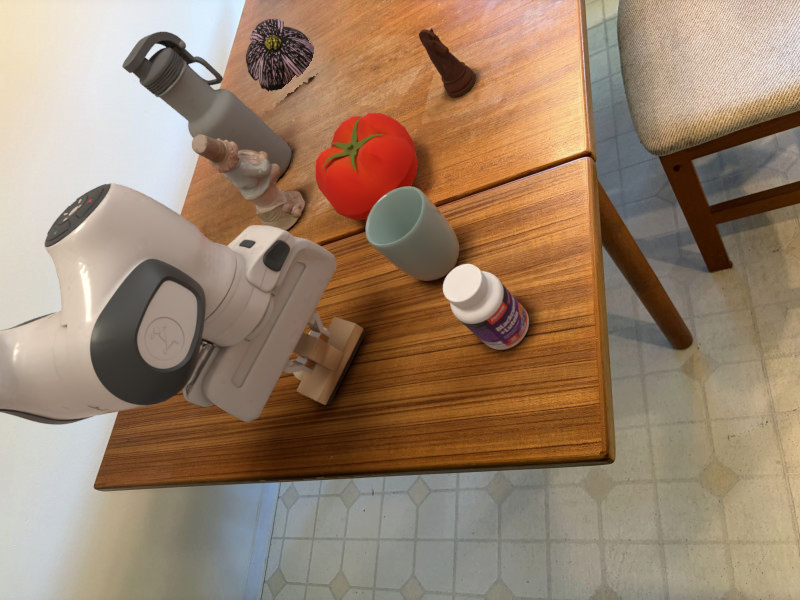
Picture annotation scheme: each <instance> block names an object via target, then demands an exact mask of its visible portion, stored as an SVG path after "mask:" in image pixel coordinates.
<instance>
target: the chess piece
mask: <svg viewBox="0 0 800 600" xmlns="http://www.w3.org/2000/svg"><path fill="white" fill-rule="evenodd" d="M418 38H419V41H420V43H421V44H422V46H423V47H424V49H425V51H426V52H427V55H428V58H429V59H430V61H431V63H432V64H433V66H434V67H435V69H436V71H437V72H438V74H439V75H440V77H441V78H440V79H441V82H442V83H443V88H444V90H445V92H446V94H447V95H448V97H451V98H458V97H461V96H463V95H465V94H466V93H468V92H469V91H470V90H471V89H472V87H473V86H474V85H475V82H476V74H475V72H474V71H473V70H472V68H471V67H470V66H468V65H466V63H465V62H464V61H460V60H459V59H458V58H457V57H456V56H455V55H454V54H453V53H452V52H450V49H449V47H448V46H446V45H445V44H444V43H443V42H442V41H441V39H440V37H439V36H438V35H437V34H436V33H435V32H434V29H433V28H432V27H431V28H430V29H426V28H423V29H421V30H420V32H419V33H418Z"/></svg>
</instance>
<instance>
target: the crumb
mask: <svg viewBox="0 0 800 600" xmlns="http://www.w3.org/2000/svg"><path fill="white" fill-rule="evenodd" d="M294 361H296V359H295V360H294ZM305 373H306V372H304V371H298V372H294V373H292V374H293V376H294V377H295V378H296V379H297V380H298V381H300V382H301V381H302V379H303V377H304V375H305Z"/></svg>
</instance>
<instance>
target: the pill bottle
mask: <svg viewBox="0 0 800 600" xmlns="http://www.w3.org/2000/svg"><path fill="white" fill-rule="evenodd" d="M442 292H443V295H444V297H445V298H446V299H447V300H448V301H449V304H450V305H449V306H450V309H451V312H452V314H453V315H454V316H455V318H456V319H457V320H458V321H459V322H461V324H463V325H464V326H465V327H466V328H467V329H468V330H469V331H471V332H472V333H473V334H474V335H475V336H476V337H477V338H478V339H479V340H480V341H481V342H482V343H484V344H485V345H486V346H487V347H489V348H491V349H493V350H496V351H497V350H498V351H502V350H503V351H504V350H508V349H511V348H513V347H516V346H517V345H518V344H519V343H521V341H522V340H523V339H524V338H525V336H526V334H527V333H528V330H529V325H530V317H529V314H528V312H527V310H526V309H525V307H524V306H523V305H522V304H521V303H520V302H519V301H518V299H517V298H516V297H515V296H514V295H513V294H512V292H510V291H509V289H508V288H507V287H506V285H505V284H504V283H503V282H502V281H501V279H499V278H498V277H497V276H496V274H493V273H492V272H489V271H486V270H481V269H480V268H479V267H478V266H477V265H475V264H471V263H463V264H460V265H458V266H455V267H454V268H453V269H452V270H451V271H450V272H449V273H448V274H447V275H446V277H445V278H444V280H443V283H442Z"/></svg>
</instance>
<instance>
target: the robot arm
mask: <svg viewBox="0 0 800 600" xmlns="http://www.w3.org/2000/svg"><path fill="white" fill-rule="evenodd" d="M46 234H47V235H46V238H45V240H44V248H45V250H46V252H47V253H48V255H49V256H50V257H51V259H52V262H53V264H54V267H55V272H56V276H57V279H58V285H59V291H60V303H61V304H60V305H61V307H60V310H59V311H56V312H51V313H48V314H45V315H41V316H37V317H33V318H31V319H29V320H27V321H24V322H22V323H19V324H17V325H14V326H12V327H9V328H6V329H2V330H0V413H1V414H2V413H3V414H8V415H11V416H15V417H16V418H17V417H18V418H21V419H24V420H27V421H31V422H34V423H39V424H44V425H53V426H54V425H55V426H56V425H57V426H59V425H69V424H74V423H77V422H81V421H84V420H87V419H90V418H93V417H96V416H102V415H107V414H112V413H119V412H124V411H129V410H134V409H137V408H139V409H140V408H144V407H148V406H153V405H157V404H161V403H163V402H166V401H168V400H170V399H172V398H174V397H175V396H176V395H177V394H179V393H180V392H181V391H182V395H183V397H184V399H185V401H187V402H188V403H190V404H193V405H194V406H198V407H200V408H209V407H212V406H216V407H217V408H219V409H221V410H222V411H224V412H226V413H227V414H229V415H231V416H233V417H234V418H237V419H238V420H240V421H243V422H245V423H249V422H252V421H255V420H257V419H259V417H260V416H261V414H262V412H263V410H264V408H265V406H266V404H267V402H268V401H269V399H270V396H271V395H272V393H273V391H274V389H275V387H276V385H277V383H278V382H279V379H280V378H281V375H282V374H283V373H285V374H288V375H289V374H293V373H294V372H298V371H304V372H306V373H309V374H312V372H313V370H314V368H315V366H316V364H317V363H315V362H313V361H311V360H310V359H308V358H305V357H303V356H301V355H299V356H298V355H297V357H296V359H295V360H296V361H295V360H290V359H291V357H292V354H294V353H293V351H294V349H295V347H296V345H297V343H298V341H299V339H300V337H301V335H302V333H305V332H304V331H305V330H306V328H307V326H308V327H309V329H310V331H311V332H310V331H309V332H310V334H309V333H308V334H309V335H311V336H314V337H317V338H319V339H321V340H323V341H324V342H326V343H328V341H329V339H330V337H331V335H332V334H331V333H330V332H328V331H326V330H325V329H323V328H325V327H324V323H323V321H322V319H321V315H320V313H318V312H317V311H316V308H317V307H318V304H319V303H320V301H321V299H322V297H323V295H324V294H325V292H326V290H327V287H328V286H329V284H330V282H331V280H332V279H333V276H334V274H335V272H336V271H337V269H338V263H337V259H336V256H335V255H334V254H333V253H332V252H330V251H329V250H328V249H326V248H325V247H324V246H321V245H320V244H318V243H317V242H314V241H312V240H310V239H308V238H304V237H298V236H295V235H292V233H290V232H289V231H287V230H286V231H285V230H283V229H280V228H277V227H273V226H267V225H264V224H252V225H248V226H247V227H245V229H244V230H242V231H241V233H240V234H238V235H237V236H236V237H235V238H234V239H233V240H232V241H231V242H229V244H228V245H225V244H222V243H219V242H216V241H213V240H211V239H209V238H208V237H207V236H205V234H203V233H202V231H201V230H200V229H199V227H197V226H196V225H195V224H194V223H193V222H192V221H190V220H188V219H187V218H185V217H184V216H183V215H182V214H179V213H178V212H176V211H174V210H173V209H172V208H170V207H168V206H166V205H165V204H163V203H162V202H160V201H158V200H157V199H154V198H153V197H151V196H149V195H147V194H145V193H143V192H141V191H139V190H136V189H135V188H132V187H129V186H127V185H124V184H120V183H116V182H110V183H104V184H100V185H98V186H96V187H95V188H91V189H89V190H88V191H87V192H85V193H83V194H82V195H80V196H79V197H77V198H76V199H75V201H73V202H72V203H71V204H70V205H67V207H66V208H65V209H64V210H63V212H61V213H60V214H59V216H58V217H57V218H56V219H55V221H53V223H52V225H51V226H50V228H49V229H48V231H47V233H46ZM202 338H203V342H202V344H201V340H202Z"/></svg>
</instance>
